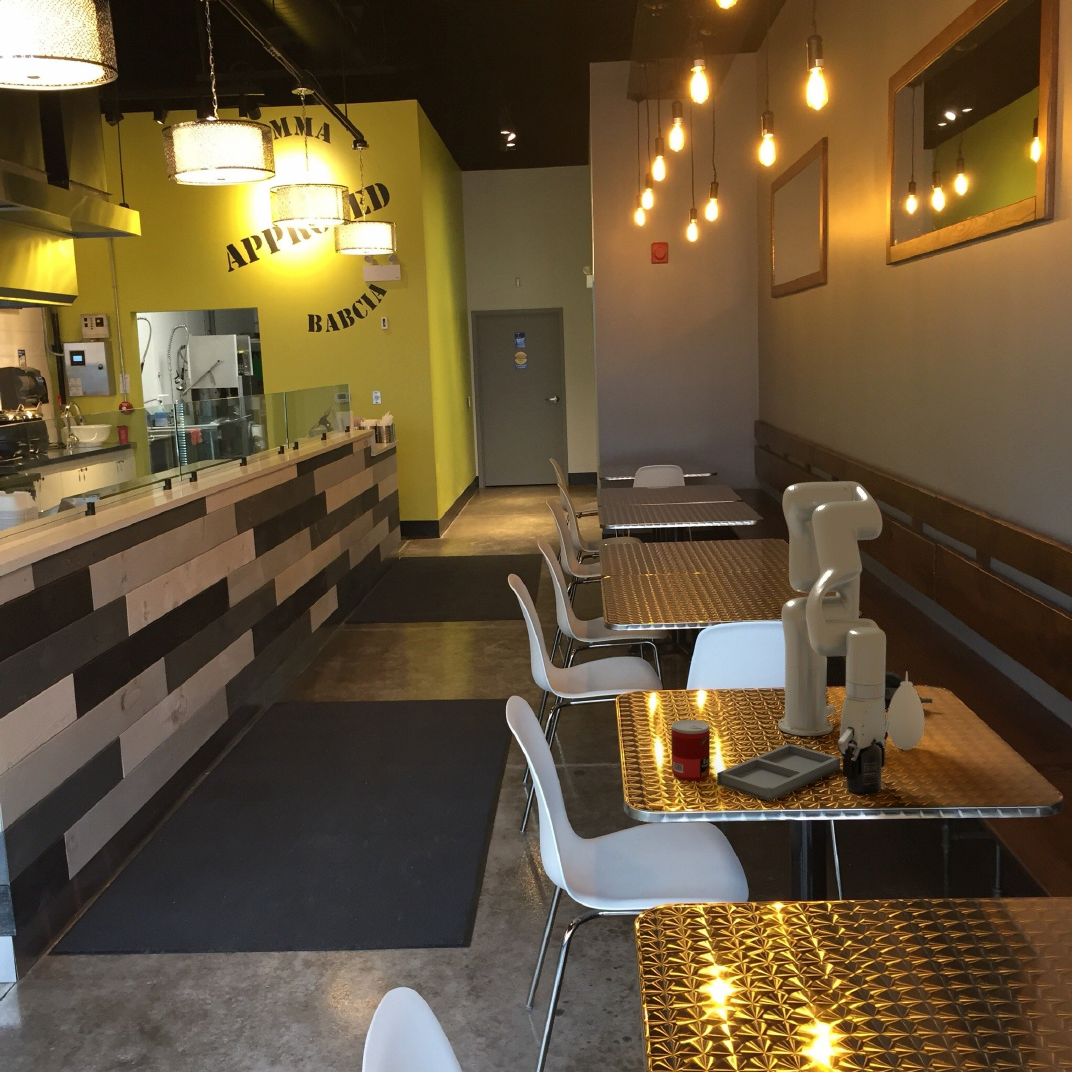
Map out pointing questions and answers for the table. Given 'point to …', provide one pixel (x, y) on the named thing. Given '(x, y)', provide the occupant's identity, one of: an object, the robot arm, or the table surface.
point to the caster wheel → (893, 684)
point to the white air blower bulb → (905, 717)
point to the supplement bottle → (867, 771)
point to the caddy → (778, 772)
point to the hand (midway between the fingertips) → (863, 771)
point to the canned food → (690, 750)
